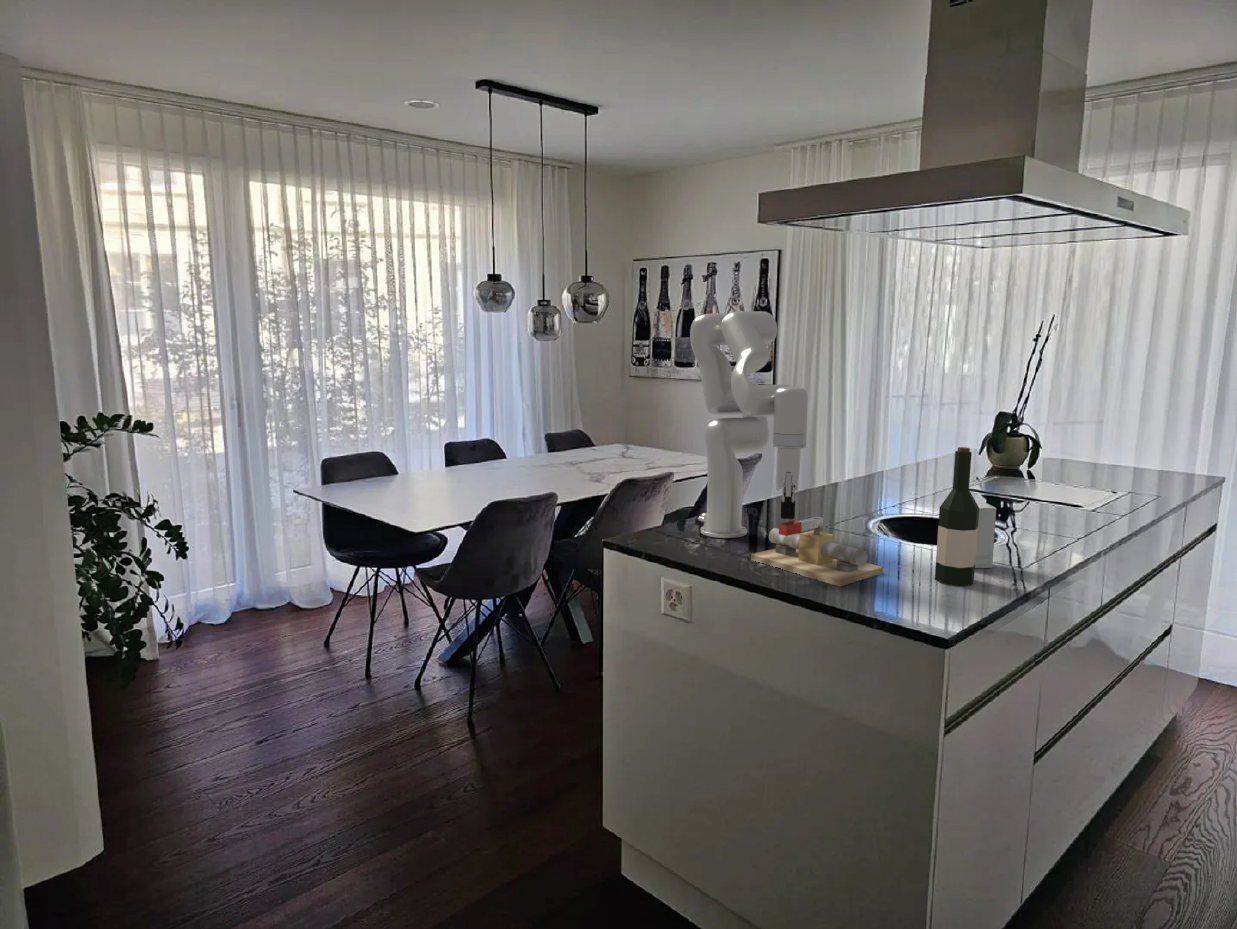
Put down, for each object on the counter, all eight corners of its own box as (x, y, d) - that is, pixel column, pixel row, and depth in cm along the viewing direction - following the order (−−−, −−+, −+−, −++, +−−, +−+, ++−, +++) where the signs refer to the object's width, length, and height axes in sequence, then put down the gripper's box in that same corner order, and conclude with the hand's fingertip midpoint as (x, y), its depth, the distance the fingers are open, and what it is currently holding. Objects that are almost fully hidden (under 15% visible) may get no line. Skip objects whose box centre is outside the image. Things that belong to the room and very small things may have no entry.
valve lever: (778, 533, 188) (778, 523, 188) (815, 525, 196) (816, 515, 196) (786, 536, 186) (787, 525, 186) (824, 527, 194) (825, 517, 194)
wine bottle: (960, 588, 180) (970, 451, 175) (926, 579, 187) (935, 447, 182) (981, 581, 185) (992, 448, 180) (948, 573, 191) (957, 444, 186)
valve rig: (751, 560, 201) (752, 522, 200) (794, 549, 211) (795, 513, 209) (839, 586, 181) (841, 544, 179) (882, 573, 191) (885, 533, 189)
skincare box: (981, 561, 201) (985, 501, 198) (993, 569, 195) (998, 507, 192) (947, 562, 200) (951, 502, 198) (958, 569, 194) (963, 507, 192)
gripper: (773, 436, 200) (772, 511, 203) (772, 444, 186) (770, 524, 189) (805, 437, 199) (803, 512, 202) (806, 445, 184) (804, 525, 187)
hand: (787, 517), depth 195 cm, fingers closed
